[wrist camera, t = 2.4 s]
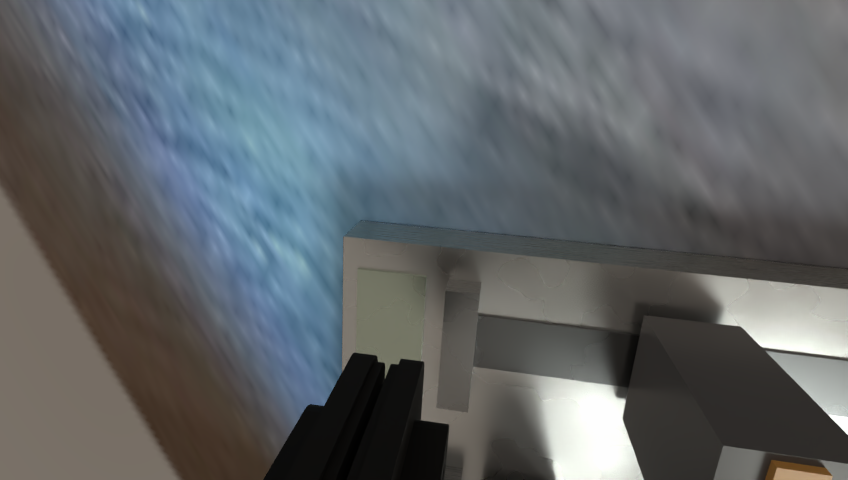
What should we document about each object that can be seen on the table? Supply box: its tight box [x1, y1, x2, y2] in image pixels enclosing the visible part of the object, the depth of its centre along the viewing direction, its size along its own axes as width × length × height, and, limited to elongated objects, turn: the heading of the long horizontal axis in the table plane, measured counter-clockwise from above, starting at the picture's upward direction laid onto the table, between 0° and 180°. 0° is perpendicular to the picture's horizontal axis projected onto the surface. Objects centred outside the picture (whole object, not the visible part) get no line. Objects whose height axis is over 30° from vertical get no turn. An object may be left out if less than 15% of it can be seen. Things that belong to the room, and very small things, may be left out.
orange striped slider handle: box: [622, 315, 848, 480], centre depth 12 cm, size 4×3×6 cm
